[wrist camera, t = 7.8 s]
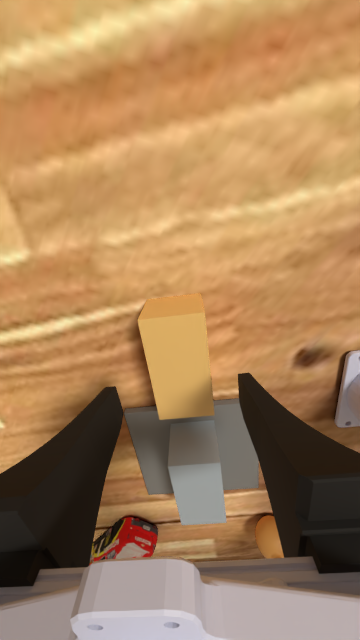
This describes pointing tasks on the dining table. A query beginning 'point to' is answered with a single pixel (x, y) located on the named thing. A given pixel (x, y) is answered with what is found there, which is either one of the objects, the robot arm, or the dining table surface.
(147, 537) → the race car
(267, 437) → the robot arm
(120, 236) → the dining table surface
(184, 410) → the ochre brick
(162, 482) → the mat
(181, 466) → the slate brick
